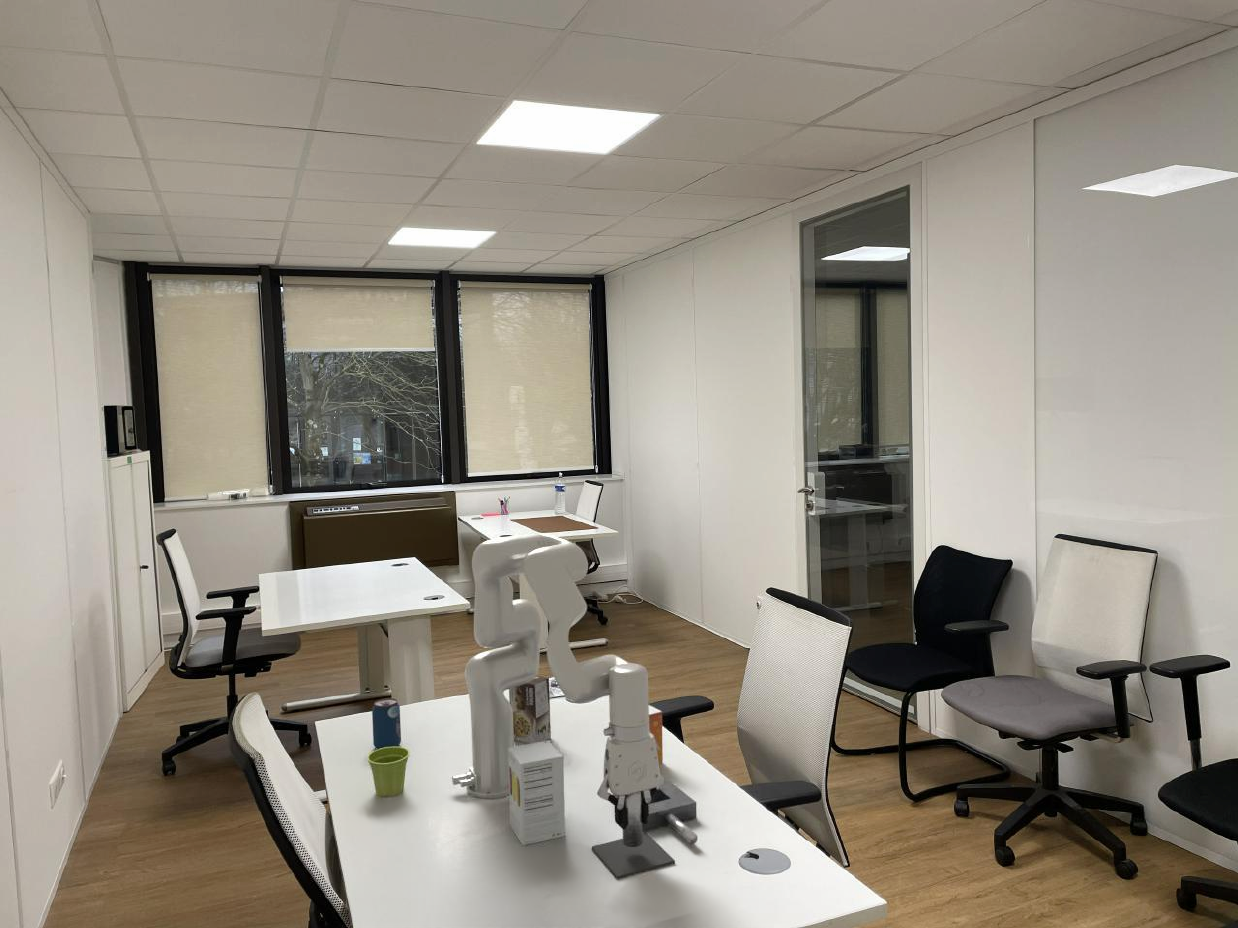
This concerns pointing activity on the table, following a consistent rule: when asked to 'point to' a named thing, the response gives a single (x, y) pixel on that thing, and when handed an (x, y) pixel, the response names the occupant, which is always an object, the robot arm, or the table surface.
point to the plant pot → (389, 769)
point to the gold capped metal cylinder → (633, 820)
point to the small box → (656, 730)
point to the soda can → (386, 723)
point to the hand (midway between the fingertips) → (632, 822)
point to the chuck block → (671, 811)
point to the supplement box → (536, 792)
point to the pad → (632, 857)
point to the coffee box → (531, 710)
